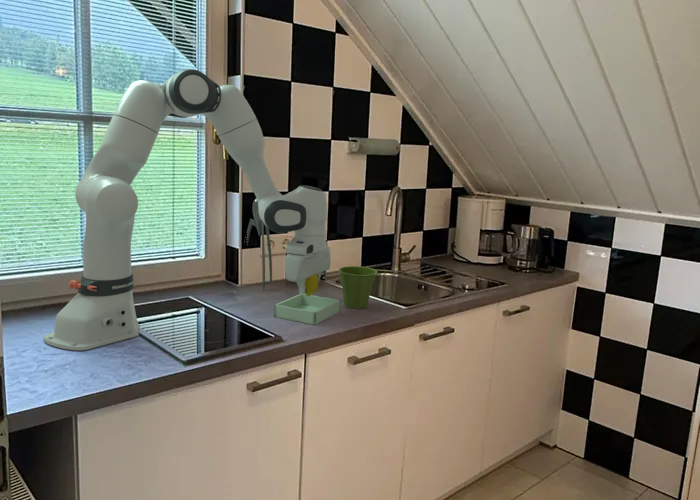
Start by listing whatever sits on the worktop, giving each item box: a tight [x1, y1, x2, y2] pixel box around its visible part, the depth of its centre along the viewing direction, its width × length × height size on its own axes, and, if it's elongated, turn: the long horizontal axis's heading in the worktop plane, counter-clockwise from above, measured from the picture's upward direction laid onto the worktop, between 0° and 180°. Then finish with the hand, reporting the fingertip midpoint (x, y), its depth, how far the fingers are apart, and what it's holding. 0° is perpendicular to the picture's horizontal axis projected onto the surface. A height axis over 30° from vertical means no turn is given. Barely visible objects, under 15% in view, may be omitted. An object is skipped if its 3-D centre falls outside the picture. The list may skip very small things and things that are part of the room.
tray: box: [273, 293, 341, 326], centre depth 171 cm, size 15×13×4 cm
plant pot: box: [338, 265, 378, 310], centre depth 181 cm, size 12×12×11 cm
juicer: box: [245, 198, 273, 292], centre depth 198 cm, size 10×11×30 cm
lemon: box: [304, 274, 320, 296], centre depth 170 cm, size 6×6×8 cm
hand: (308, 290), depth 170 cm, fingers closed on lemon, 5 cm apart
